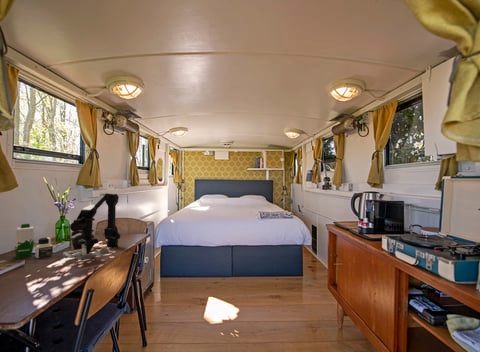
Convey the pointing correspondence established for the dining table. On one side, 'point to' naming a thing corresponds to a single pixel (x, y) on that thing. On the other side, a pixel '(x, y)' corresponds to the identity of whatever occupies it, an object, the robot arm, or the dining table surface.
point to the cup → (77, 245)
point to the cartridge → (84, 250)
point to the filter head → (94, 254)
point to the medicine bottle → (44, 248)
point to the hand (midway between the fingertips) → (86, 253)
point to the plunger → (104, 248)
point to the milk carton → (24, 241)
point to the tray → (72, 252)
